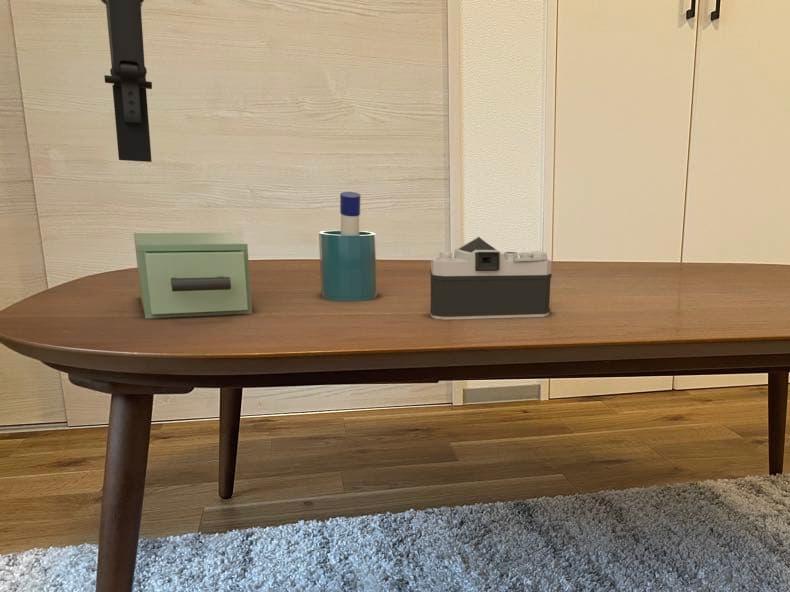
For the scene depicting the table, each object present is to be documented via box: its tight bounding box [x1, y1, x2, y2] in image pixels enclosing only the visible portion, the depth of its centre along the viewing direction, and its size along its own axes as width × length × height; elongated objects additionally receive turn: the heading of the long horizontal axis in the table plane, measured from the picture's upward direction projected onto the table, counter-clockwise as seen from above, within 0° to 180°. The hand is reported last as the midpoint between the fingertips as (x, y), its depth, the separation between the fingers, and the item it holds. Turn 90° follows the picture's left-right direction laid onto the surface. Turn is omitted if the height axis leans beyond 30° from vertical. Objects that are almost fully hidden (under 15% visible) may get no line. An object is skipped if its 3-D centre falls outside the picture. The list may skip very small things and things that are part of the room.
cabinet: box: [133, 232, 253, 319], centre depth 96 cm, size 14×12×9 cm
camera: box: [429, 236, 553, 320], centre depth 99 cm, size 16×9×10 cm, turn 111°
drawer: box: [145, 251, 248, 315], centre depth 93 cm, size 17×10×7 cm, turn 28°
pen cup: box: [318, 230, 378, 302], centre depth 107 cm, size 7×7×9 cm
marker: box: [339, 191, 362, 235], centre depth 104 cm, size 3×3×14 cm
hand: (135, 160), depth 73 cm, fingers closed
